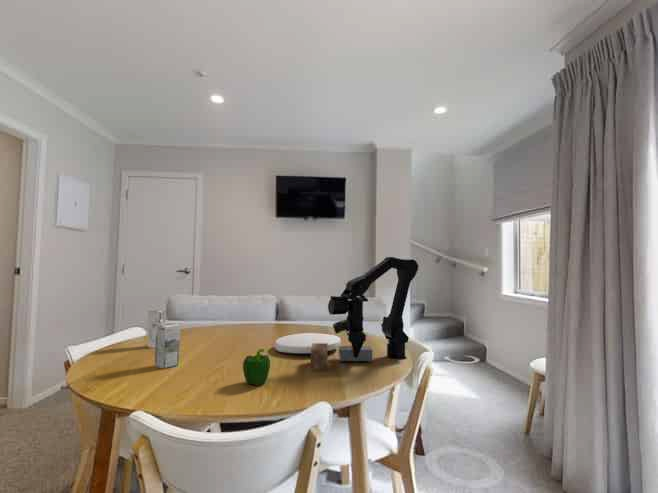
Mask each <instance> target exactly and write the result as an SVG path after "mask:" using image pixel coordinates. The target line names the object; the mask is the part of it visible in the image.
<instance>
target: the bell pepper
mask: <svg viewBox="0 0 658 493" xmlns="http://www.w3.org/2000/svg"><path fill="white" fill-rule="evenodd" d="M261 352H262V353H263V352H265V349H264V348H260V349H258V350H257V352H256V355H255V354H254V355H246V357H245V358H244V360H243V362H242V371H243V376H244V380H245V381H246V383H247V384H249V385H254V386H261V385H264V384H265V383H266V381H267V380H268V376H269V372H270V368H271V359H270V357H269V355H268V354H262V353H261Z"/></svg>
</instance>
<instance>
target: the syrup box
mask: <svg viewBox="0 0 658 493" xmlns="http://www.w3.org/2000/svg"><path fill="white" fill-rule="evenodd" d="M180 336H181V325H179V324H178V323H174V322H173V323H172V322H171V323H165V324H163V325H157V329H156V348H155V354H154V355H155V356H154V367H156V368H159V369H162V370H165V369H170V368H173V367H177V366H179V358H180V357H179V356H180V342H181V341H180V339H181V338H180Z"/></svg>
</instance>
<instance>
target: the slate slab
mask: <svg viewBox="0 0 658 493" xmlns="http://www.w3.org/2000/svg"><path fill="white" fill-rule="evenodd" d="M338 358H339V361H340V362H359V361H360V362H362V361H364V362H367V361H368V362H372V361H373V349H372V347H371V346H370V345H362V348H361V350H360V352H359V354H358V357H357V358H355V357H354V353H353V347H352V345H339V346H338Z"/></svg>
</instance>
